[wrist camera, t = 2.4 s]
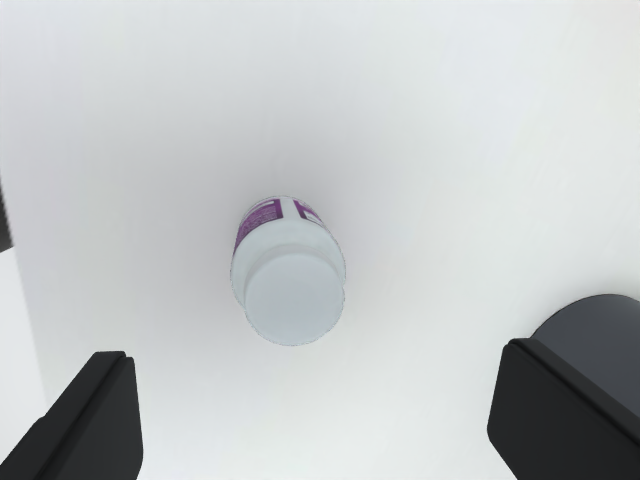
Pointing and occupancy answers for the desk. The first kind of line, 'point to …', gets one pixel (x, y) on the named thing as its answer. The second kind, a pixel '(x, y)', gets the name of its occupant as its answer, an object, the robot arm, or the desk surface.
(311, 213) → the pill bottle
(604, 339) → the light fixture
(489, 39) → the desk surface
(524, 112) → the desk surface
